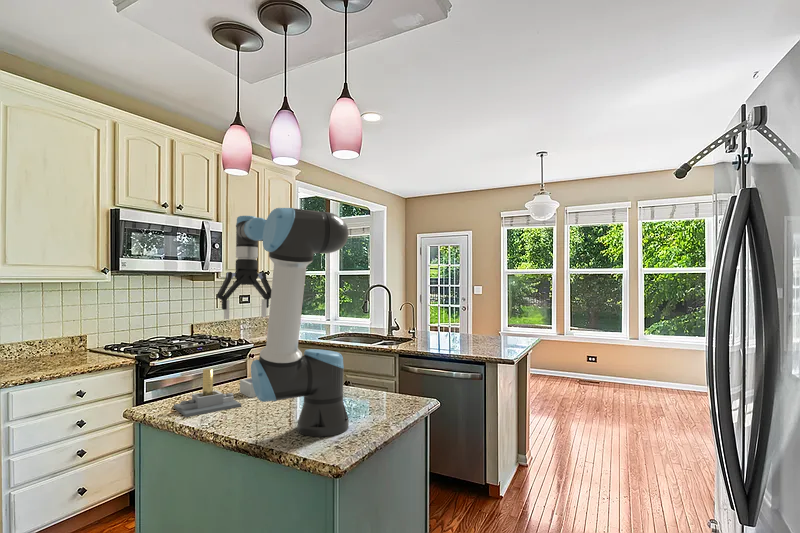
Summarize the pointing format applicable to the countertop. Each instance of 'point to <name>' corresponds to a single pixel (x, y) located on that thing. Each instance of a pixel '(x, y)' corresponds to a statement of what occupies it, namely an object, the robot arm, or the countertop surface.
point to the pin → (207, 382)
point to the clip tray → (247, 387)
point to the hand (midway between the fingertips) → (245, 318)
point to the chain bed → (206, 403)
